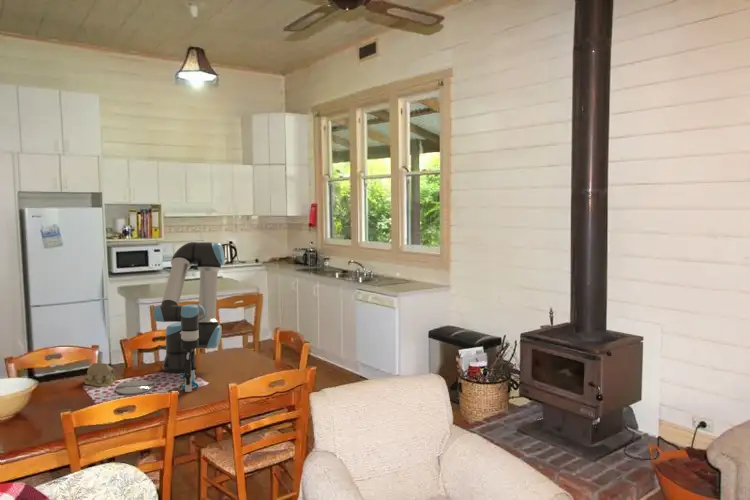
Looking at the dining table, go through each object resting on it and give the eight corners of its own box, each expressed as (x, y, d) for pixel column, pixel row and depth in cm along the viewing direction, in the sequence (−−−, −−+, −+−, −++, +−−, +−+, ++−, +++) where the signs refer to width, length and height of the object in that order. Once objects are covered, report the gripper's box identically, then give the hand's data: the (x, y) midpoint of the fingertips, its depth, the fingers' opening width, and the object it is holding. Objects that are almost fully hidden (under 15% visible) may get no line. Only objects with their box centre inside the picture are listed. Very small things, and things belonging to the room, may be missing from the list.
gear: (202, 386, 251) (185, 372, 247) (193, 397, 248) (176, 383, 245) (195, 382, 260) (179, 369, 256) (186, 393, 258) (170, 380, 254)
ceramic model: (121, 380, 263) (120, 359, 262) (106, 387, 252) (106, 366, 251) (93, 378, 265) (93, 357, 264) (77, 385, 254) (77, 364, 253)
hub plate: (120, 383, 257) (120, 381, 257) (157, 382, 260) (157, 379, 260) (111, 395, 242) (111, 392, 241) (150, 393, 244) (150, 391, 244)
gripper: (184, 333, 262) (185, 380, 263) (177, 345, 240) (177, 396, 242) (201, 333, 263) (201, 380, 265) (195, 344, 241) (195, 395, 243)
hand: (189, 387), depth 253 cm, fingers closed on gear, 9 cm apart
